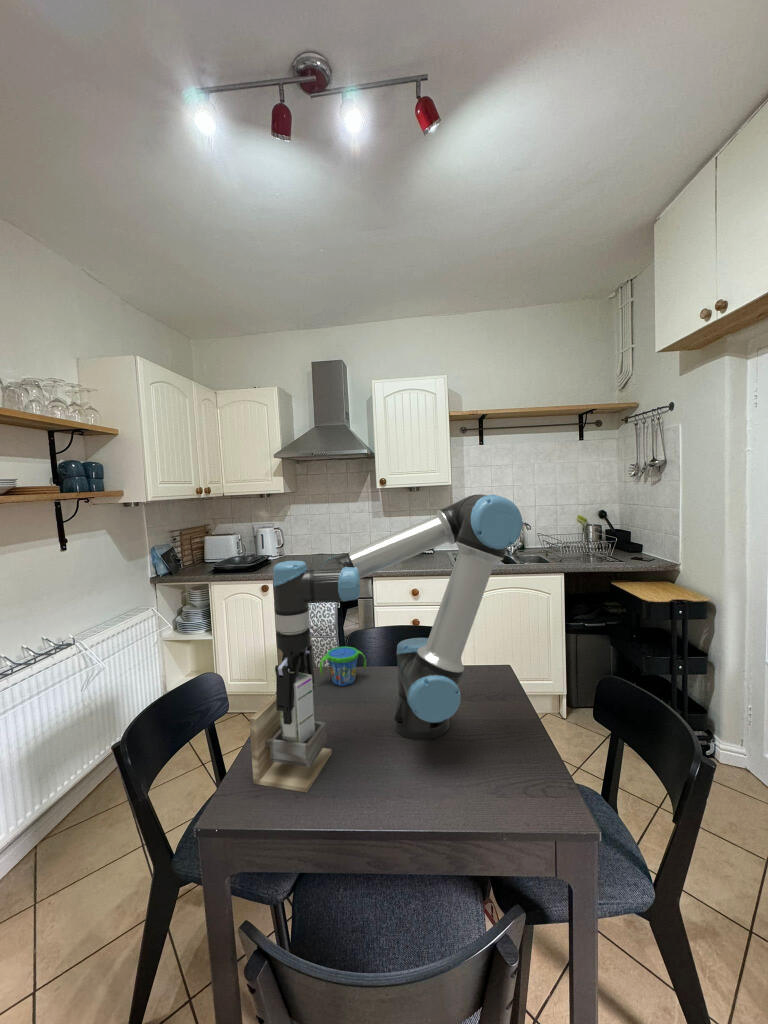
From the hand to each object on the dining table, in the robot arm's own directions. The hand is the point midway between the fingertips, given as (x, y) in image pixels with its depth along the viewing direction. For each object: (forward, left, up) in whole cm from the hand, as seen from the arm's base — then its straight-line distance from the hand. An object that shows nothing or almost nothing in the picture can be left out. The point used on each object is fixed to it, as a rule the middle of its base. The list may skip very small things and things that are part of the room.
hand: (298, 726), depth 101 cm
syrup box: (0, 0, -3) cm, 3 cm away
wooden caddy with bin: (+2, 0, -10) cm, 10 cm away
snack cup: (+6, -44, -10) cm, 46 cm away
